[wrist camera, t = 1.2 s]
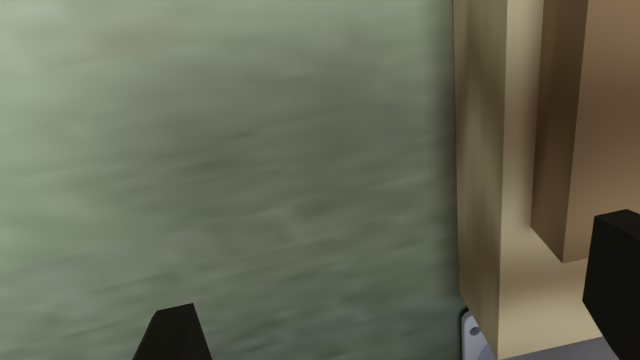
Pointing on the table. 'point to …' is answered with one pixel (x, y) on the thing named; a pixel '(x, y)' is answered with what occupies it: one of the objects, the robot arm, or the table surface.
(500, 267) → the birch deck
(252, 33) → the table surface
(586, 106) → the walnut tile
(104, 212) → the table surface
